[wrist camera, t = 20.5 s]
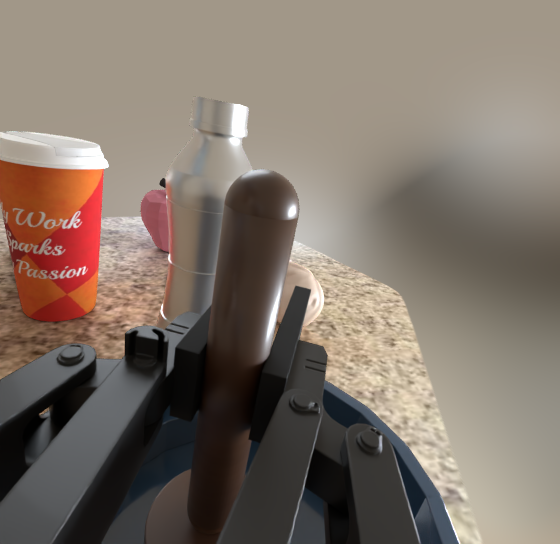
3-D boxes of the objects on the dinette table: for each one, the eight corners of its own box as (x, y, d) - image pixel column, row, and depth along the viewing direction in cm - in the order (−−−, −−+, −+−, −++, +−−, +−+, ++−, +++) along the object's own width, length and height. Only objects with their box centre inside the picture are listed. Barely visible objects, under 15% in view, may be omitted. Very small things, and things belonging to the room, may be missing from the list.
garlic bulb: (307, 308, 42) (322, 245, 39) (322, 339, 36) (341, 269, 33) (252, 304, 41) (264, 239, 38) (259, 336, 35) (274, 262, 32)
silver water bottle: (138, 372, 27) (148, 86, 20) (174, 327, 34) (192, 97, 26) (218, 392, 27) (260, 108, 19) (240, 343, 33) (278, 114, 25)
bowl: (68, 431, 22) (63, 358, 19) (329, 414, 27) (347, 355, 25) (-204, 1247, 6) (-367, 1319, 4) (530, 827, 12) (623, 765, 9)
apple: (162, 266, 46) (167, 189, 42) (125, 243, 50) (127, 172, 46) (217, 254, 53) (226, 187, 49) (181, 235, 57) (186, 173, 53)
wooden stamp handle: (147, 505, 17) (168, 143, 10) (250, 491, 18) (322, 169, 12) (136, 647, 12) (161, 172, 6) (273, 614, 14) (405, 206, 8)
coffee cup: (-20, 316, 30) (-51, 128, 24) (49, 279, 37) (38, 129, 32) (76, 337, 30) (67, 152, 24) (125, 295, 37) (128, 147, 32)
